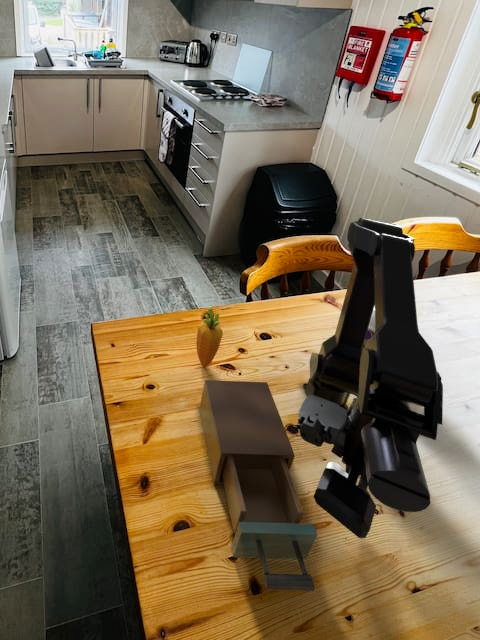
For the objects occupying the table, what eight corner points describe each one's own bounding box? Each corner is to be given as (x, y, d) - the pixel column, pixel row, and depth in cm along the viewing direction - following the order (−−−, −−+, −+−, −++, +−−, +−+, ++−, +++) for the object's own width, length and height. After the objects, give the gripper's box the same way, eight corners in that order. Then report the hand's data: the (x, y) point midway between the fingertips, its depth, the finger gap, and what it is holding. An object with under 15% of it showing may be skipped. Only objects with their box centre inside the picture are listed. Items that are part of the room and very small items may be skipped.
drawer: (322, 607, 51) (335, 583, 49) (243, 605, 51) (252, 581, 48) (276, 468, 66) (284, 444, 64) (215, 466, 66) (220, 442, 63)
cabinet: (284, 486, 64) (295, 455, 61) (213, 484, 64) (221, 453, 61) (258, 411, 76) (267, 382, 73) (199, 409, 76) (204, 379, 73)
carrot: (215, 378, 82) (227, 324, 76) (191, 373, 83) (201, 319, 77) (215, 358, 87) (225, 306, 81) (192, 354, 87) (201, 301, 82)
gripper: (332, 348, 64) (309, 412, 70) (288, 431, 51) (264, 500, 57) (414, 393, 57) (380, 460, 63) (385, 502, 44) (347, 573, 51)
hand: (342, 492), depth 59 cm, fingers closed on dumpling, 6 cm apart
